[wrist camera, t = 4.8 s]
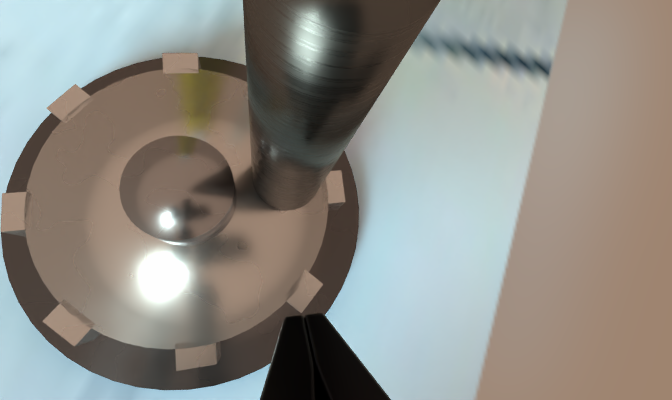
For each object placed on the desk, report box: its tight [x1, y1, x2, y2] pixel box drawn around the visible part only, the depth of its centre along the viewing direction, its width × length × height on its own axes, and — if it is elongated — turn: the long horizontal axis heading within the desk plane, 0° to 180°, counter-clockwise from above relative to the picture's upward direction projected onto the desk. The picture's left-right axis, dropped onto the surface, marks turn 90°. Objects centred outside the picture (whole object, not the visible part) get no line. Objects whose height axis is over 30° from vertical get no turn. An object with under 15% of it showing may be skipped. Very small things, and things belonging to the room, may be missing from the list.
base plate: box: [1, 57, 359, 390], centre depth 14 cm, size 13×13×4 cm
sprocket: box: [1, 0, 440, 371], centre depth 9 cm, size 11×11×12 cm
